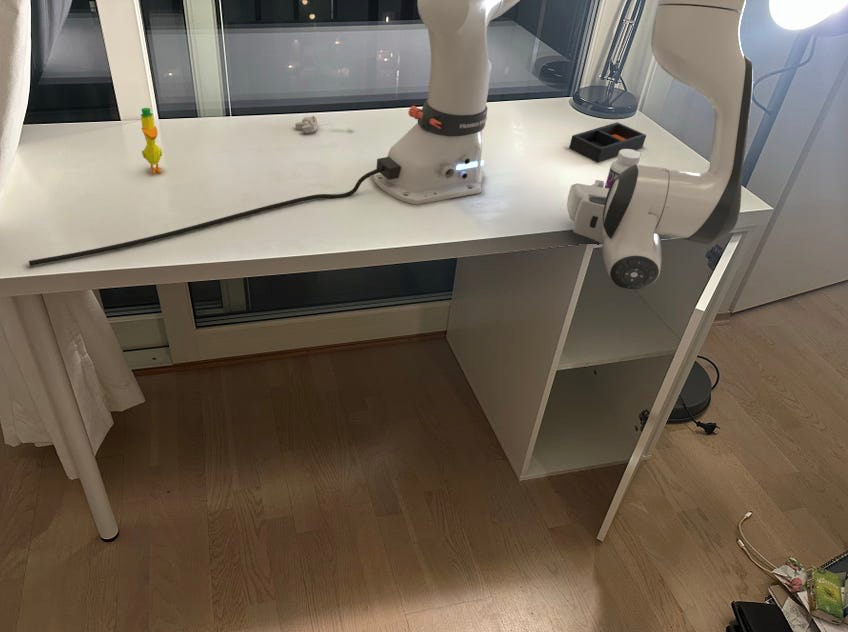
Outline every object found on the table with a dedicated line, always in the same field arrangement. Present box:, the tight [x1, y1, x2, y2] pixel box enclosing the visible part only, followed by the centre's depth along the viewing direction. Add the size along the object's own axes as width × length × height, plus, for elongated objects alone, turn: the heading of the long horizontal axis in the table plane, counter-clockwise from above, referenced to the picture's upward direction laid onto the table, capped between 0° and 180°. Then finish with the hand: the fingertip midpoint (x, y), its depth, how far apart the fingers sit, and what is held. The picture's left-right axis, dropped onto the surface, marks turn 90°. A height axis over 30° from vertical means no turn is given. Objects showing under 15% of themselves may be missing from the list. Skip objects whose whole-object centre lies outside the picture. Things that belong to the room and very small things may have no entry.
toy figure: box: [140, 107, 163, 175], centre depth 131 cm, size 7×4×12 cm, turn 24°
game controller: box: [294, 115, 350, 134], centre depth 154 cm, size 6×12×3 cm, turn 109°
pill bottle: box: [604, 149, 642, 188], centre depth 134 cm, size 5×5×10 cm
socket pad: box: [568, 121, 647, 164], centre depth 155 cm, size 8×15×3 cm, turn 126°
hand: (624, 188), depth 129 cm, fingers open, 8 cm apart
